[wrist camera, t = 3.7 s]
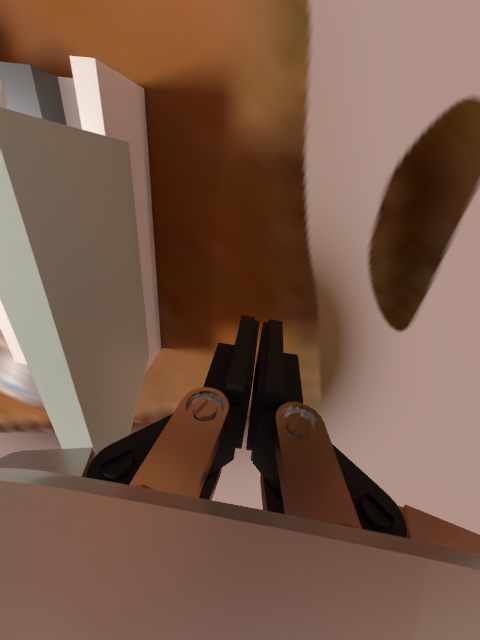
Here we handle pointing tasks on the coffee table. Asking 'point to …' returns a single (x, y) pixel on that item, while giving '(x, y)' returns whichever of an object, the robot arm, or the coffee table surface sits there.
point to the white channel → (102, 118)
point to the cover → (73, 274)
